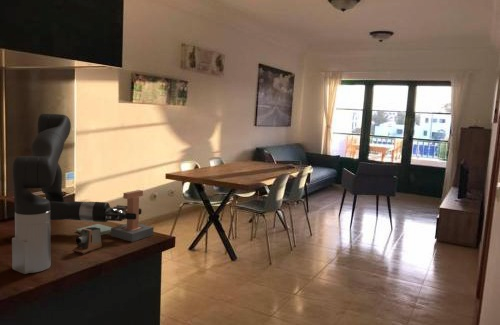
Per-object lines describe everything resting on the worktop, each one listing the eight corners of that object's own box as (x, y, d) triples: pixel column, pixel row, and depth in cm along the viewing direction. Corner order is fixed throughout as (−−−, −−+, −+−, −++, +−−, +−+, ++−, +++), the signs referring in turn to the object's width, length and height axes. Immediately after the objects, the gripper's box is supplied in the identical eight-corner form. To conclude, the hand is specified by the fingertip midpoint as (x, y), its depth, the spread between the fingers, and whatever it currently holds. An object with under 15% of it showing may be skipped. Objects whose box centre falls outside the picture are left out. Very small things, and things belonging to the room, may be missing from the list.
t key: (129, 239, 153) (130, 194, 151) (119, 236, 155) (120, 192, 153) (144, 234, 160) (145, 191, 158) (135, 231, 162) (136, 189, 160)
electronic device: (71, 253, 135) (71, 231, 134) (91, 245, 144) (92, 224, 144) (82, 256, 134) (83, 233, 133) (102, 247, 143) (102, 226, 142)
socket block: (132, 241, 150) (132, 233, 150) (110, 236, 155) (111, 228, 155) (153, 234, 160) (153, 227, 159) (132, 229, 165) (132, 222, 164)
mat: (94, 237, 153) (94, 234, 153) (76, 231, 158) (76, 229, 158) (115, 230, 162) (115, 228, 162) (97, 226, 166) (97, 223, 166)
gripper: (87, 206, 148) (134, 208, 149) (101, 197, 163) (143, 200, 163) (87, 226, 149) (133, 229, 150) (101, 216, 164) (143, 218, 164)
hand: (138, 214), depth 156 cm, fingers open, 7 cm apart
